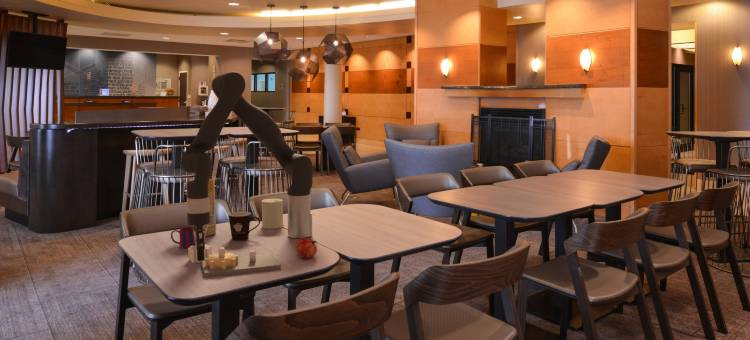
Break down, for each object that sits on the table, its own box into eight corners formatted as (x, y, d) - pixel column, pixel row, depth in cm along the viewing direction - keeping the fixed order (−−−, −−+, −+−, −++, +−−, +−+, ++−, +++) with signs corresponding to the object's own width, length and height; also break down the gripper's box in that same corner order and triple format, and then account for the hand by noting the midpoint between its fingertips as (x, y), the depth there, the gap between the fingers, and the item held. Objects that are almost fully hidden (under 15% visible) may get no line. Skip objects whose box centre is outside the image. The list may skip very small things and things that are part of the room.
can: (273, 230, 235) (272, 202, 233) (257, 227, 240) (256, 199, 238) (287, 225, 242) (287, 198, 241) (272, 223, 247) (271, 196, 246)
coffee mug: (224, 240, 218) (223, 215, 217) (237, 235, 226) (237, 211, 225) (249, 243, 214) (248, 217, 213) (261, 237, 222) (261, 213, 220)
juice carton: (219, 233, 228) (217, 176, 224) (204, 238, 221) (201, 178, 218) (203, 230, 233) (201, 174, 229) (188, 234, 226) (186, 176, 223)
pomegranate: (293, 265, 193) (312, 252, 189) (285, 247, 196) (303, 233, 191) (307, 262, 200) (326, 249, 195) (299, 245, 202) (317, 231, 197)
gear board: (272, 257, 195) (272, 238, 194) (280, 269, 183) (280, 248, 182) (201, 264, 187) (200, 244, 186) (205, 277, 174) (204, 255, 173)
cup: (195, 249, 206) (194, 231, 205) (168, 248, 206) (167, 230, 205) (201, 244, 212) (200, 226, 211) (176, 243, 213) (175, 226, 212)
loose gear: (210, 256, 197) (210, 243, 196) (212, 261, 191) (212, 248, 190) (188, 258, 194) (187, 246, 193) (189, 263, 188) (188, 250, 187)
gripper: (211, 213, 185) (213, 262, 187) (207, 205, 198) (209, 251, 200) (187, 215, 182) (189, 264, 184) (185, 207, 195) (187, 253, 197)
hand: (200, 257), depth 192 cm, fingers closed on loose gear, 6 cm apart
